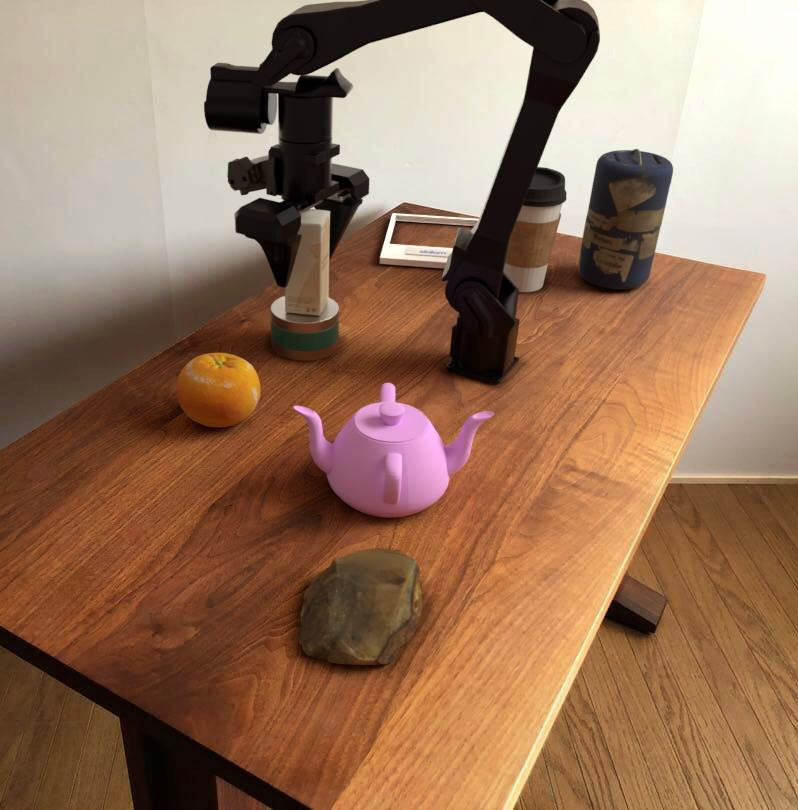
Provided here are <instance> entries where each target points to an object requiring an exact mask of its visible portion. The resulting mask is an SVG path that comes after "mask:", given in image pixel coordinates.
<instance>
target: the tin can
mask: <svg viewBox="0 0 798 810" xmlns="http://www.w3.org/2000/svg"><path fill="white" fill-rule="evenodd" d="M339 334H340V306H339V304H338V302H336V301H335V300H334V299H332V298H331V297H330V296H328V301H327V303H326V305H325V307H324V309H323V311H322V313H321V315H309V314H298V313H289V312H285V295H284V296H283V295H282V296H281V297H279V298H277V299H276V300H274V301H272V303H271V305H270V338H271V339H270V340H271V341H270V342H271V348H272V350H273V352H274V353H276V354H277V355H278V356H280V357H282V358H285V359H287V360H292V361H298V362H299V361H300V362H308V361H309V362H311V361H317V360H322V359H326V358H327V357H330V356H331V355H333V354H334V353H335V352H336V351H337V349H338V347H339V336H340V335H339Z"/></svg>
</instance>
